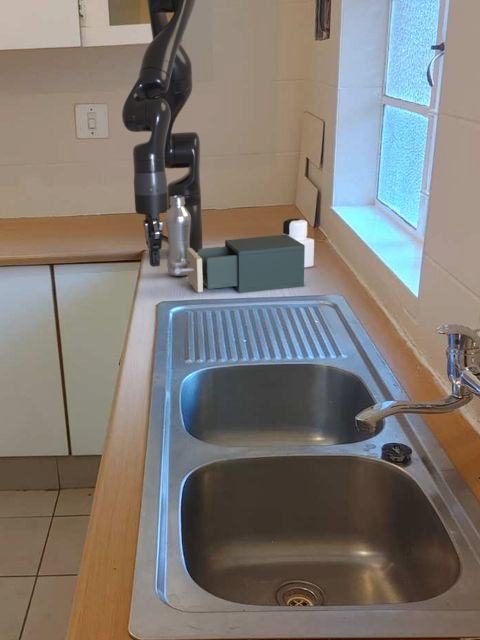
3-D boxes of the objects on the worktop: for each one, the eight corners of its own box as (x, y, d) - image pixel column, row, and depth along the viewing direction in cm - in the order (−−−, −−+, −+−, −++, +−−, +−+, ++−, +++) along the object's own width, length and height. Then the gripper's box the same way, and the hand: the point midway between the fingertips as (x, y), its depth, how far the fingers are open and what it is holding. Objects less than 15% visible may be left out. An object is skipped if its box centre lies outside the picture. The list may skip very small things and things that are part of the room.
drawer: (177, 294, 175) (175, 261, 172) (168, 281, 185) (166, 250, 182) (258, 286, 177) (258, 253, 174) (245, 273, 188) (244, 242, 185)
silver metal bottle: (177, 270, 198) (174, 193, 190) (198, 273, 194) (195, 195, 186) (162, 276, 194) (158, 198, 186) (183, 279, 190) (179, 199, 182)
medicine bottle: (275, 265, 197) (275, 219, 193) (298, 260, 200) (299, 215, 195) (290, 270, 191) (291, 223, 187) (314, 266, 194) (315, 220, 189)
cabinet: (239, 292, 176) (238, 251, 173) (225, 278, 188) (224, 240, 184) (303, 286, 178) (304, 245, 175) (286, 272, 190) (286, 234, 186)
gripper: (172, 194, 165) (175, 270, 172) (161, 185, 177) (165, 257, 184) (138, 196, 164) (143, 274, 171) (130, 188, 176) (135, 260, 183)
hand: (155, 265), depth 177 cm, fingers closed
